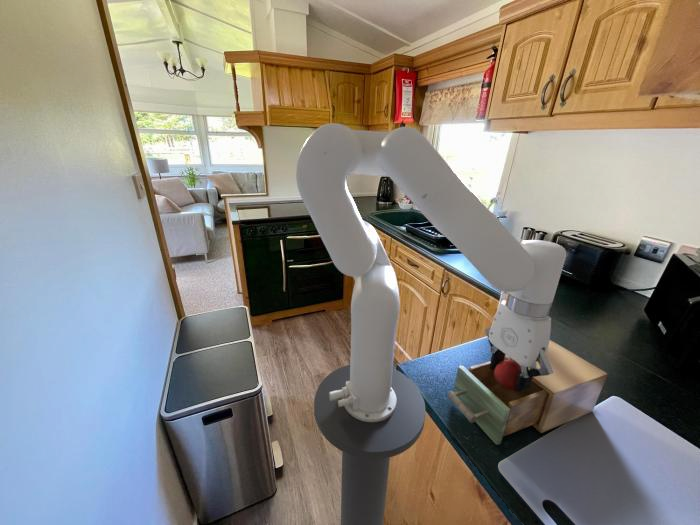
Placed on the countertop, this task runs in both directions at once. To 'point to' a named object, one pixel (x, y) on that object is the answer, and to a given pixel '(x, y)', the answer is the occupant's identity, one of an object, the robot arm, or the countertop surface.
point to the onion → (507, 373)
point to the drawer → (496, 402)
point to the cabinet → (567, 387)
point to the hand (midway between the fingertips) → (507, 377)
